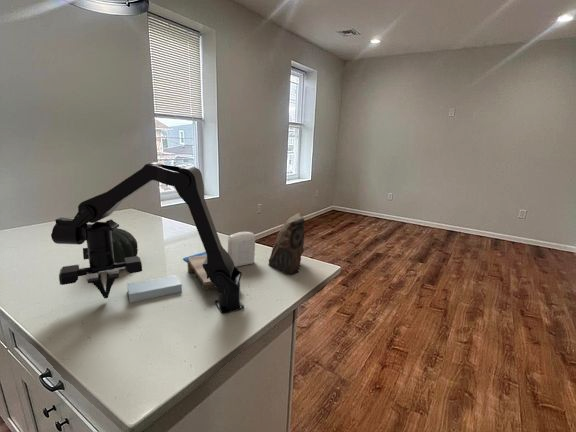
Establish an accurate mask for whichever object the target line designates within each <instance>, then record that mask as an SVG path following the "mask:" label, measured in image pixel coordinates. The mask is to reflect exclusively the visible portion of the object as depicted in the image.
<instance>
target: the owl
mask: <svg viewBox="0 0 576 432" xmlns="http://www.w3.org/2000/svg"><path fill="white" fill-rule="evenodd" d="M305 225H306V220H305V219H304V217H303V216H302V213H301V212H300V211H299V212H298V213H296V214H294V215H292V216H291V217H289V219H287V220H286V221H285V223H284V224H283V225H282V226H281V228H280V230H279V232H278V234H277V238H276V240H275V242H274V244H273V246H272V248H271V253H270V257H269V259H268V264H267V266H269V267H271V268H273V269H275V270H277V271H278V272H281V273H282V274H284V275H287V276H294V275H297V274H299V273H300V271H299V270H301V269H300V267H301V262H302V255H303V254H304V251H305V249H304V244H305V243H304V242H305V235H306V234H305V232H304V230H305Z"/></svg>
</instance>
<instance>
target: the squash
mask: <svg viewBox="0 0 576 432" xmlns="http://www.w3.org/2000/svg"><path fill="white" fill-rule="evenodd" d="M111 235H112V244H113V253H114V263H121V262H125V258H127V257H134V256H138V250H139V249H138V247H139V246H138V241H137V240H136V238H135V236H134V235H133V234H132V233H130V232H129V231H128V230H126V229H122V228H119V227H118V228H116V229H114V230H112V231H111Z"/></svg>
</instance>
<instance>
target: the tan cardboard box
mask: <svg viewBox="0 0 576 432" xmlns="http://www.w3.org/2000/svg"><path fill="white" fill-rule="evenodd" d="M186 257H187V262H186V263H187V272H188V274H193V273H194V277H195V278H198V279H199V280H200V281H201V283H202V285H201V289H202V290H208V289H214V288H216V286H215V284H213V283H212V282H211V281H210V278H208V279H207V274H206V272H205V270H204V268H203V266H202V265H203V263H204V261H205V260H206V258H207V255H200V256H194V257H189V256H186ZM239 284H240V285H241V282H240V283H239Z"/></svg>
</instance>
